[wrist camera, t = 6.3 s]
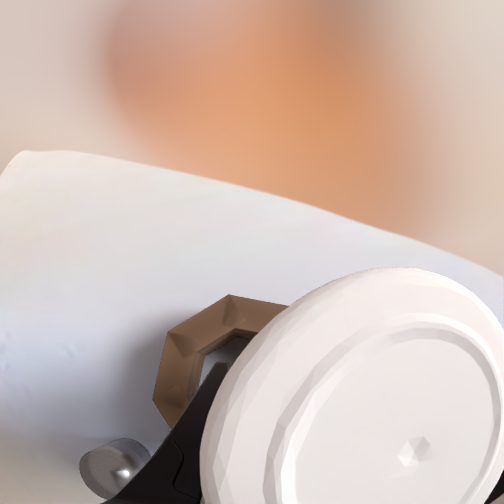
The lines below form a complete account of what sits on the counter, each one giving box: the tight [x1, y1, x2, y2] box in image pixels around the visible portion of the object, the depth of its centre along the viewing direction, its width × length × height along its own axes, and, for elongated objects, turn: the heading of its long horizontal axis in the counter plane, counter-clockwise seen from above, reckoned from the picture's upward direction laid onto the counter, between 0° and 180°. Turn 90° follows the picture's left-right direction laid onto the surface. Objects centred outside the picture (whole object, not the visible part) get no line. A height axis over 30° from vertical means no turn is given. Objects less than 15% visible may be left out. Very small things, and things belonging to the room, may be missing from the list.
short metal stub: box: [80, 438, 151, 500], centre depth 15 cm, size 4×4×5 cm
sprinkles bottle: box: [200, 267, 504, 504], centre depth 8 cm, size 5×5×14 cm
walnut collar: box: [152, 294, 289, 429], centre depth 18 cm, size 11×11×4 cm
